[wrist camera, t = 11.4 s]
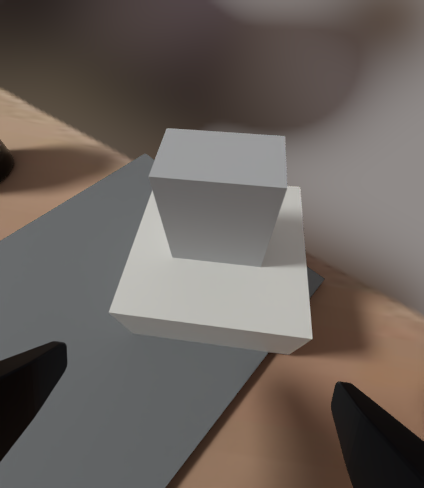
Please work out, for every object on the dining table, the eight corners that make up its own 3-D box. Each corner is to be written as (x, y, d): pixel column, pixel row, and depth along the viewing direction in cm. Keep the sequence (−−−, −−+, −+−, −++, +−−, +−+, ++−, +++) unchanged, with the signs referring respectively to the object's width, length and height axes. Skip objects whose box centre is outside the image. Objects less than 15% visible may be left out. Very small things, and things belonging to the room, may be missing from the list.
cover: (288, 354, 15) (386, 290, 7) (133, 333, 16) (35, 251, 7) (284, 226, 21) (336, 95, 12) (167, 215, 22) (134, 84, 13)
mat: (321, 282, 19) (324, 278, 18) (21, 674, 10) (11, 688, 9) (146, 158, 27) (145, 153, 26) (-108, 313, 18) (-117, 311, 17)
